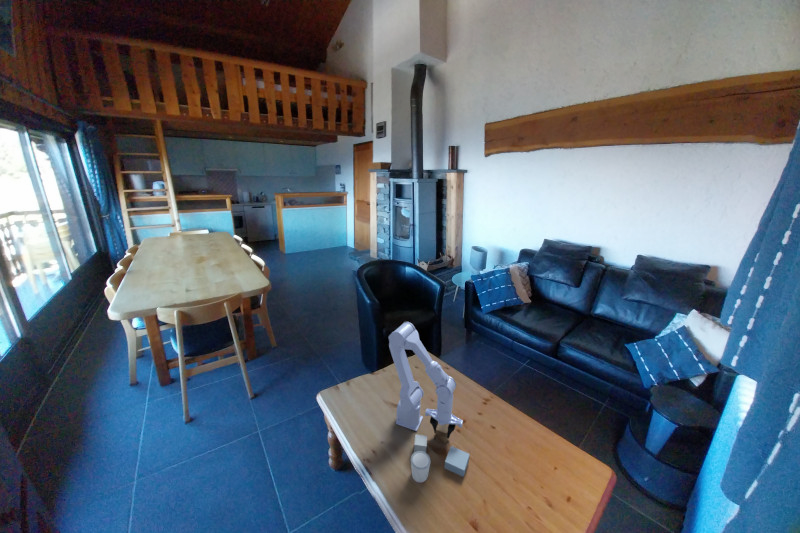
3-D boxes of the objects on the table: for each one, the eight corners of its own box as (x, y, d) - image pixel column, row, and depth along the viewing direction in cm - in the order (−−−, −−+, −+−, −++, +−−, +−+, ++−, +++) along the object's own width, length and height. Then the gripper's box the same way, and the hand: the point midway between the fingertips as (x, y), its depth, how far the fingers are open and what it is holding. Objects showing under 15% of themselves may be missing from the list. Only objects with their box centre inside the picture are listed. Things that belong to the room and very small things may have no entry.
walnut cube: (435, 439, 119) (435, 429, 117) (438, 430, 122) (438, 421, 121) (446, 443, 117) (447, 433, 115) (449, 434, 121) (449, 424, 119)
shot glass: (424, 488, 101) (424, 473, 98) (406, 477, 104) (406, 462, 102) (433, 471, 106) (434, 457, 104) (416, 461, 110) (416, 447, 107)
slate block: (444, 468, 108) (444, 461, 106) (450, 452, 113) (451, 445, 112) (463, 477, 105) (464, 470, 103) (468, 460, 110) (469, 453, 109)
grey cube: (413, 454, 112) (414, 444, 111) (415, 444, 116) (415, 434, 115) (425, 456, 112) (426, 446, 110) (426, 445, 116) (427, 435, 114)
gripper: (423, 408, 114) (421, 435, 118) (461, 421, 109) (458, 448, 113) (428, 395, 120) (427, 422, 125) (465, 407, 115) (462, 434, 119)
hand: (442, 434), depth 119 cm, fingers closed on walnut cube, 4 cm apart
